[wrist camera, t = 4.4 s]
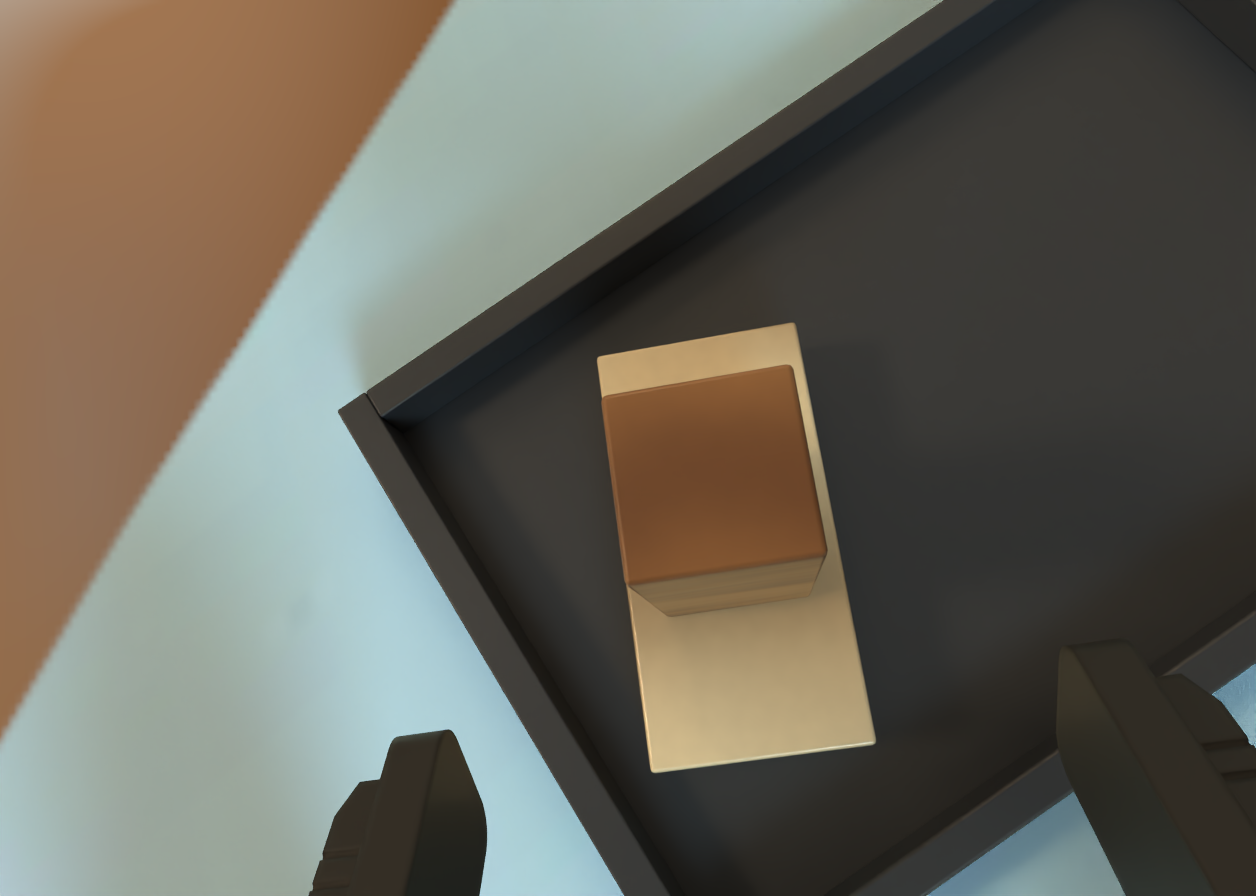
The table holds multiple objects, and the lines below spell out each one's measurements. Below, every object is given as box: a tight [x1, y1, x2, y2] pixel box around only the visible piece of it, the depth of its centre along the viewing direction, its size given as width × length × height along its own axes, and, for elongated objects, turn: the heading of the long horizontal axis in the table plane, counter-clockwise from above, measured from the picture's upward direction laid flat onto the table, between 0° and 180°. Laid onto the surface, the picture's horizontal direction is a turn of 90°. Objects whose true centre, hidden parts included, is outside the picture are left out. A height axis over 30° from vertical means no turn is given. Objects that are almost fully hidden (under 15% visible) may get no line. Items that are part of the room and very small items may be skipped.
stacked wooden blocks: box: [597, 323, 876, 773], centre depth 18 cm, size 9×4×8 cm, turn 8°
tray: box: [338, 0, 1256, 896], centre depth 22 cm, size 24×16×2 cm, turn 124°
